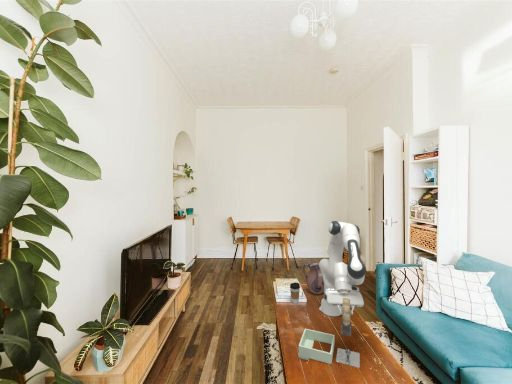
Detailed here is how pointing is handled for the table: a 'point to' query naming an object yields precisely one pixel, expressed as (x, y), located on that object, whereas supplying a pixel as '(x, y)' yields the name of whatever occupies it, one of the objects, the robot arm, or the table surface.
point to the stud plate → (348, 357)
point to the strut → (346, 318)
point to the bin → (309, 352)
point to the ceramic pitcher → (314, 278)
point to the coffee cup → (294, 292)
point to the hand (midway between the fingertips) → (346, 314)
